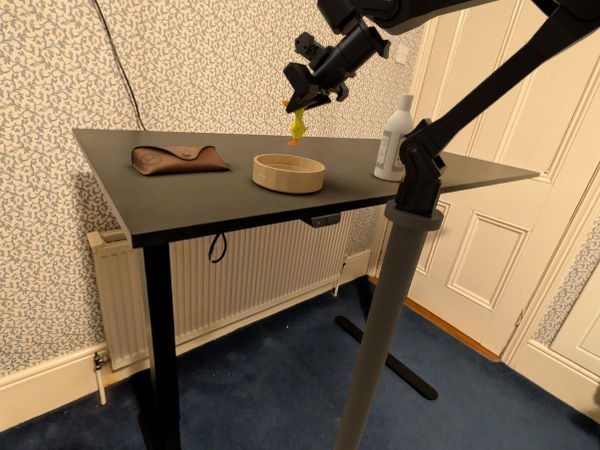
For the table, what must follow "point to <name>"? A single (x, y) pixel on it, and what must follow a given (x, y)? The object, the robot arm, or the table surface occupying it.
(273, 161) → the bowl
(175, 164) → the sunglasses case
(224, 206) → the table surface
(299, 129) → the toy figure
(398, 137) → the bath foam
